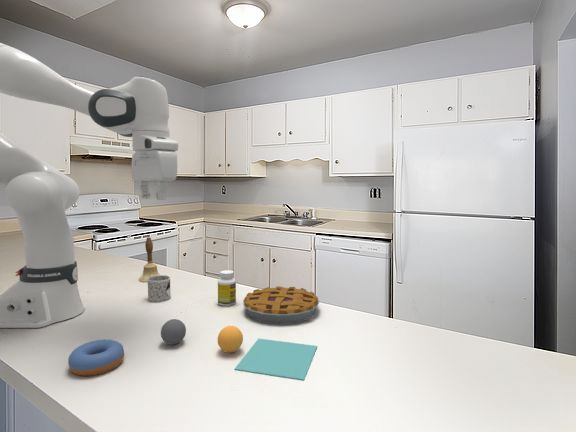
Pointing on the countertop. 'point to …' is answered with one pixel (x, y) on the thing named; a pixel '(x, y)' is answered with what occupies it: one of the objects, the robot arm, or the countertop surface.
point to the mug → (159, 288)
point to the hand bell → (149, 263)
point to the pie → (281, 304)
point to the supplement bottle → (226, 288)
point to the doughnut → (96, 357)
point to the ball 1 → (173, 331)
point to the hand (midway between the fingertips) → (153, 199)
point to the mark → (278, 359)
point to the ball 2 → (230, 339)
